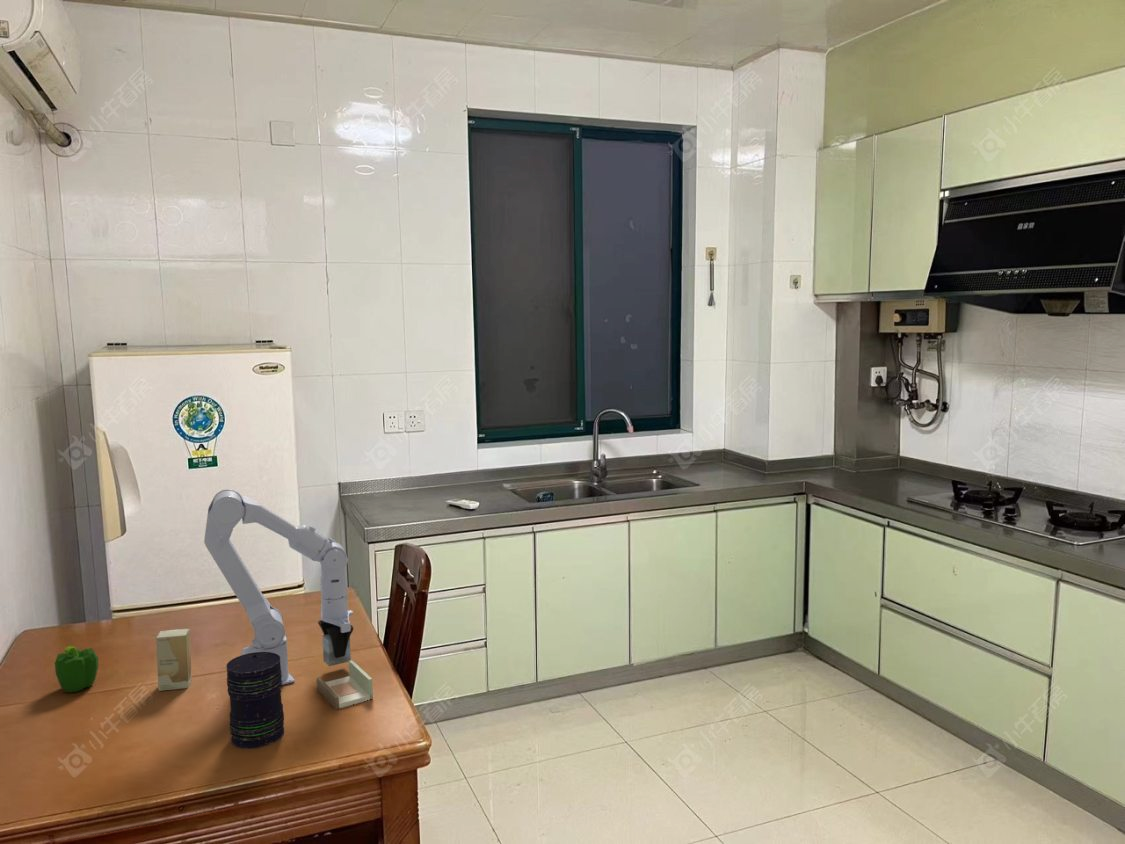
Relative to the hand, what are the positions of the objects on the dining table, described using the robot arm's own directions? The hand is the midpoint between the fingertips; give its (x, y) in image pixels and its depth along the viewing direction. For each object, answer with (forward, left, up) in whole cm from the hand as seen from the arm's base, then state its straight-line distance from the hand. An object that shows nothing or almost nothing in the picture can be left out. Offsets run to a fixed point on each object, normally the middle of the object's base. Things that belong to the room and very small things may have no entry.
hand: (336, 653), depth 187 cm
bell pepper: (-50, +25, -4) cm, 56 cm away
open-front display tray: (-3, -13, -4) cm, 14 cm away
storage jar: (-23, -21, -4) cm, 31 cm away
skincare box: (-32, +13, -4) cm, 35 cm away
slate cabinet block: (0, 0, -2) cm, 2 cm away
